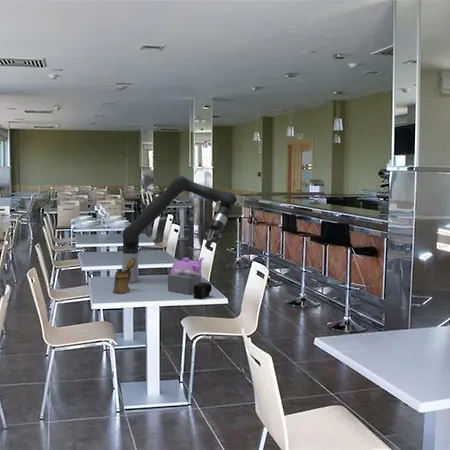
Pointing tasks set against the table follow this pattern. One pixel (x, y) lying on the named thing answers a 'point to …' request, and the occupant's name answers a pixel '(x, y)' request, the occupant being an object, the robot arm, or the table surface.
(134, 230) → the robot arm
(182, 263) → the teapot
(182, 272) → the back rocker
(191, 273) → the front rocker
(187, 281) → the switch box
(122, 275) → the wooden mug
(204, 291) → the digital camera
